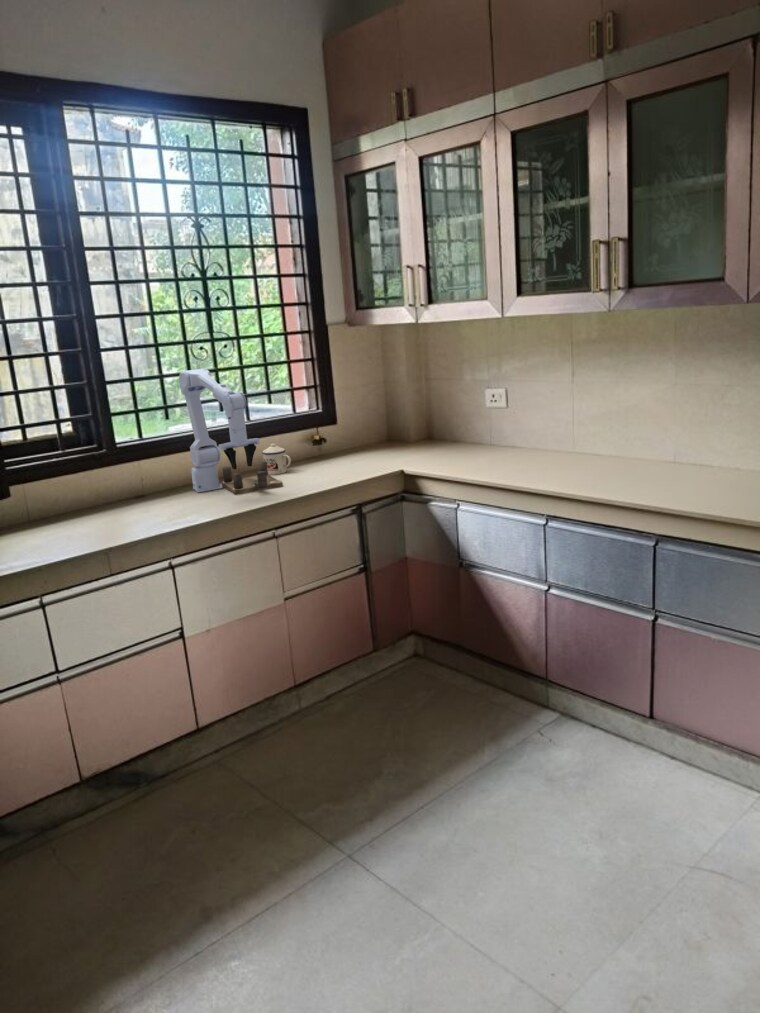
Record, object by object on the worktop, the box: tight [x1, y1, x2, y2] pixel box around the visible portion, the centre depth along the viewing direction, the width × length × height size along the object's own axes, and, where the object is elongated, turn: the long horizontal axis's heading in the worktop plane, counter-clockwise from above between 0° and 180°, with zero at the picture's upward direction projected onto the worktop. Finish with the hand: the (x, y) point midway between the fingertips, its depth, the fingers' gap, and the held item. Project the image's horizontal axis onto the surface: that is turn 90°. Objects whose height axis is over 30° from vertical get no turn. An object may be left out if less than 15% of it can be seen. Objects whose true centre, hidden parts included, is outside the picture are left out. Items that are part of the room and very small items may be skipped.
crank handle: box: [254, 471, 268, 489], centre depth 278 cm, size 10×3×6 cm, turn 26°
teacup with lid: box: [262, 443, 292, 476], centre depth 308 cm, size 12×9×12 cm
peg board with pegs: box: [221, 460, 284, 495], centre depth 288 cm, size 18×18×7 cm
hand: (242, 467), depth 271 cm, fingers open, 5 cm apart
